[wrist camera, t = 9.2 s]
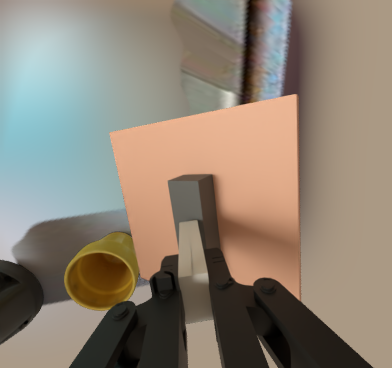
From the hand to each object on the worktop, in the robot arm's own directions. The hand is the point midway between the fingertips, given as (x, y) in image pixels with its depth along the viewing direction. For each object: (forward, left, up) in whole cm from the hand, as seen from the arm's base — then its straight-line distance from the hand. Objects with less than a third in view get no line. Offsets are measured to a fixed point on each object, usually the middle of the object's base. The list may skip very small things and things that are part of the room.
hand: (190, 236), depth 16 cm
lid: (+1, 0, -5) cm, 5 cm away
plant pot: (-14, -11, -22) cm, 28 cm away
